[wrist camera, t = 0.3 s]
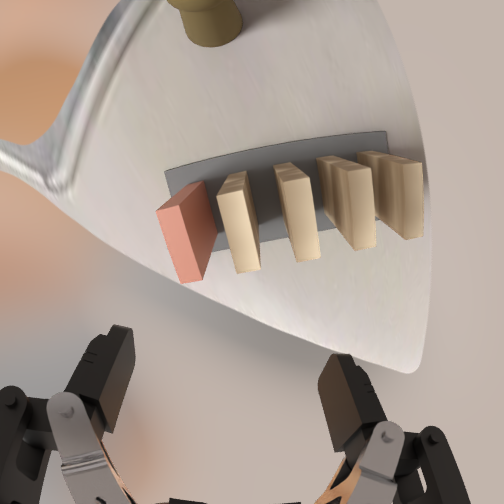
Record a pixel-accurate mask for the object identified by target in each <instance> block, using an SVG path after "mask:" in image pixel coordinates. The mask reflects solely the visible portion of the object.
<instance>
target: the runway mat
mask: <svg viewBox="0 0 504 504" xmlns="http://www.w3.org/2000/svg"><path fill="white" fill-rule="evenodd" d="M363 151H376V152H380V153H385V154H388V146H387V139H386V132H385V131H378V132H366V133H355V134H346V135H337V136H329V137H321V138H314V139H307V140H301V141H295V142H289V143H283V144H277V145H272V146H266V147H261V148H256V149H251V150H247V151H242V152H237V153H233V154H229V155H224V156H220V157H216V158H212V159H208V160H204V161H200V162H196V163H192V164H189V165H185V166H182V167H178V168H175V169H171V170H168V171H165V172H164V173H165V177H166V180H167V184H168V188H169V191H170V195H171V198H172V197H173V196H174V195H175V194H176V193H178V192H179V191H180V190H181V189H183V188H184V187H185V186H186V185H188V184H192V183H195V182H199V181H203V180H204V184H205V188H206V191H207V195H208V199H209V203H210V207H211V210H212V214H213V218H214V221H215V225H216V229H217V232H218V235H217V237H216V240H215V243H214V246H213V249H212V252H215V251H220V250H225V249H230V247H229V243H228V239H227V235H226V231H225V228H224V224H223V220H222V216H221V212H220V209H219V205H218V201H217V197H216V196H217V194H218V192H219V190H220V189H221V187H222V185H223V184H224V182H225V180H226V179H227V177H228V175H229V174H233V173H238V172H242V171H247V175H248V180H249V184H250V189H251V193H252V198H253V202H254V207H255V211H256V216H257V220H258V225H259V243H261V242H266V241H271V240H276V239H281V238H287V237H289V236H288V233H287V230H286V227H285V224H284V220H283V215H282V210H281V205H280V199H279V194H278V189H277V184H276V179H275V174H274V169H273V165H277V164H282V163H288V162H291V163H292V164H293V165H295V166H296V167H297V168H298V169H300V170H301V171H302V172H303V173H305V174H306V175H307V176H308V177H309V178H310V184H311V190H312V196H313V203H314V210H315V217H316V224H317V232H318V231H323V230H328V229H334V228H336V226H335V225H334V224H333V223H332V222H331V220H330V219H329V218H328V217H327V215H326V214H325V213H324V207H323V200H322V193H321V186H320V180H319V173H318V167H317V161H316V158H318V157H325V156H332V155H333V156H336V157H339V158H342V159H346V160H349V161H352V162H355V163H358V161H357V154H356V152H363ZM376 220H380V219H379V218H378V217H376V216H375V221H376Z"/></svg>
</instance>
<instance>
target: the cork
mask: <svg viewBox="0 0 504 504" xmlns="http://www.w3.org/2000/svg"><path fill="white" fill-rule="evenodd" d="M167 1H168V3H169V4H171V5H172V6H173V7H175V8H177V9H179V11H180V14H181V18H182V21H183V24H184V28H185V31H186V34H187V36H188V38H189V39H190V40H191V41H192V42H193V43H195V44H197V45H200V46H202V47H218V46H222V45H224V44H227V43H229V42H230V41H232V40H233V39H235V38H236V37H237V35H238V34H239V33H240V31H241V28H242V25H243V21H242V16H241V14H240V12H239V10H238V8H237V6H236V4H235V3H234V1H233V0H167Z"/></svg>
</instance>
